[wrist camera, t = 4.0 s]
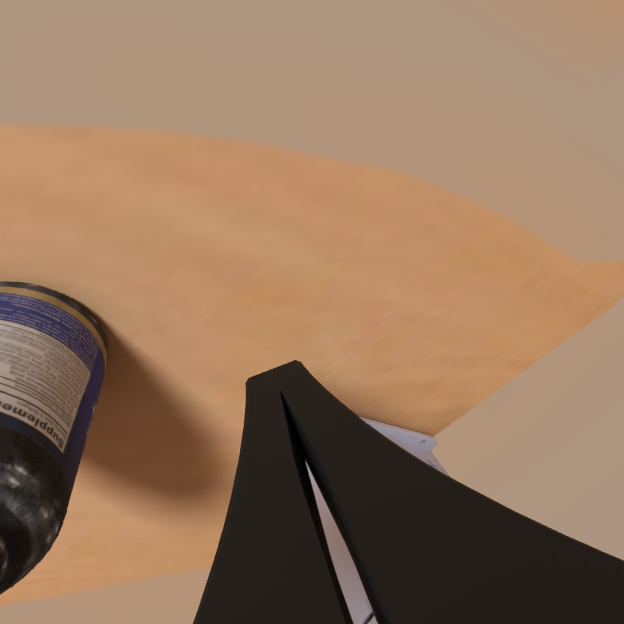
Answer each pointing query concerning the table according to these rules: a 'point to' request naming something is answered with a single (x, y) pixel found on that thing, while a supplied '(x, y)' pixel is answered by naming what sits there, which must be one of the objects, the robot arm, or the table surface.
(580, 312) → the table surface
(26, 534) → the pill bottle
